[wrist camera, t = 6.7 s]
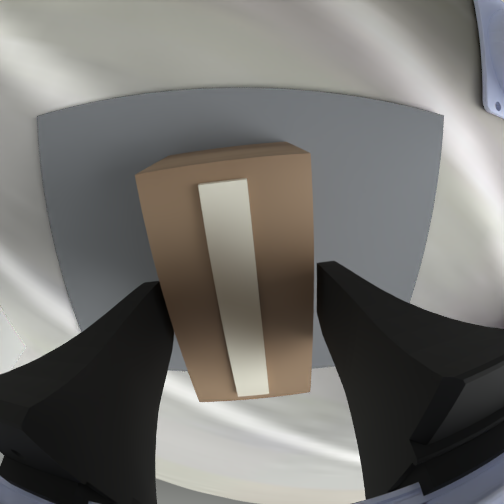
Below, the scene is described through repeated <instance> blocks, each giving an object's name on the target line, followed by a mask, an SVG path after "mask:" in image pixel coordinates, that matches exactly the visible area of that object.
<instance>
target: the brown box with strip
mask: <svg viewBox="0 0 504 504" xmlns="http://www.w3.org/2000/svg"><path fill="white" fill-rule="evenodd" d="M135 179H136V184H137V189H138V194H139V199H140V204H141V209H142V213H143V218H144V222H145V227H146V231H147V235H148V239H149V243H150V248H151V252H152V256H153V259H154V263H155V267H156V271H157V275H158V278H159V282H160V285H161V289H162V292H163V296H164V299H165V303H166V306H167V309H168V313H169V316H170V319H171V322H172V326H173V329H174V332H175V335H176V338H177V341H178V344H179V347H180V350H181V353H182V356H183V359H184V361H185V364H186V367H187V370H188V373H189V375H190V378H191V381H192V384H193V386H194V389H195V391H196V394H197V397H198V399H199V402H214V401H232V400H246V399H258V398H268V397H277V396H285V395H292V394H300V393H306V392H310V386H311V369H312V347H313V316H314V223H313V192H312V170H311V153H309V152H307V151H305V150H303V149H301V148H299V147H297V146H295V145H292V144H290V143H288V142H274V143H262V144H251V145H242V146H233V147H224V148H216V149H209V150H202V151H195V152H188V153H182V154H176V155H170V156H167V157H165V158H164V159H162V160H160V161H158V162H156V163H155V164H153V165H151V166H149V167H148V168H146V169H144V170H142V171H141V172H139V173H137V174H136V175H135Z"/></svg>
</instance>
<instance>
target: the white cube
mask: <svg viewBox="0 0 504 504" xmlns="http://www.w3.org/2000/svg"><path fill="white" fill-rule="evenodd" d="M25 348H26V345H25V344H24V342H23V341H22V339H21V338H20V336H19V335H18V333H17V332H16V330H15V329H14V327H13V326H12V324H11V322H10V321H9V319H8V318H7V316H6V314H5V313H4V311H3V309H2V308H1V306H0V374H2V373H6V372H8V371H11V370H12V368H13V367H14V365H15V363H16V362H17V360H18V359H19V357H20V356H21V354H22V353H23V351H24V350H25Z"/></svg>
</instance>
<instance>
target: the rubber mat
mask: <svg viewBox="0 0 504 504" xmlns="http://www.w3.org/2000/svg"><path fill="white" fill-rule="evenodd" d="M443 123H444V115H440V114H437V113H433V112H429V111H426V110H422V109H418V108H414V107H409V106H405V105H400V104H396V103H391V102H386V101H381V100H375V99H370V98H364V97H357V96H351V95H344V94H336V93H328V92H318V91H308V90H295V89H279V88H203V89H186V90H174V91H163V92H154V93H146V94H138V95H131V96H125V97H118V98H113V99H107V100H102V101H96V102H92V103H87V104H82V105H78V106H73V107H69V108H65V109H61V110H57V111H54V112H50V113H46V114H43V115H39V116H37V124H38V142H39V154H40V164H41V173H42V181H43V188H44V194H45V200H46V206H47V212H48V217H49V222H50V227H51V232H52V236H53V241H54V245H55V249H56V253H57V257H58V261H59V265H60V268H61V272H62V275H63V279H64V282H65V286H66V289H67V292H68V295H69V298H70V301H71V304H72V307H73V310H74V313H75V316H76V319H77V321H78V324H79V327H80V329H81V332H83V331H84V330H85V329H87V328H88V327H89V326H91V325H92V324H93V323H94V322H96V321H97V320H98V319H99V318H101V317H102V316H103V315H104V314H106V313H107V312H108V311H109V310H111V309H112V308H113V307H114V306H115V305H116V304H118V303H119V302H120V301H121V300H122V299H124V298H125V297H126V296H127V295H128V294H130V293H131V292H132V291H133V290H135V289H136V288H137V287H138V286H140V285H141V284H143V283H144V282H153V281H159V278H158V275H157V271H156V267H155V263H154V259H153V256H152V252H151V248H150V243H149V239H148V235H147V231H146V227H145V222H144V218H143V213H142V209H141V204H140V199H139V194H138V189H137V184H136V179H135V175H136V174H137V173H139V172H141V171H142V170H144V169H146V168H148V167H149V166H151V165H153V164H155V163H156V162H158V161H160V160H162V159H164V158H165V157H167V156H170V155H176V154H182V153H188V152H195V151H202V150H209V149H216V148H224V147H233V146H242V145H251V144H262V143H274V142H288V143H290V144H292V145H295V146H297V147H299V148H301V149H303V150H305V151H307V152H309V153H311V170H312V192H313V223H314V316H313V347H312V368H323V367H333V366H335V365H334V362H333V360H332V357H331V355H330V352H329V350H328V347H327V345H326V342H325V340H324V337H323V335H322V331H321V327H320V324H319V320H318V316H317V263H320V262H327V261H336V262H338V263H339V264H341V265H343V266H344V267H346V268H347V269H349V270H351V271H352V272H354V273H355V274H357V275H359V276H360V277H362V278H363V279H365V280H367V281H368V282H370V283H372V284H373V285H375V286H377V287H378V288H380V289H382V290H384V291H386V292H388V293H389V294H391V295H393V296H395V297H397V298H399V299H401V300H403V301H405V302H408V303H410V300H411V297H412V293H413V290H414V287H415V283H416V280H417V276H418V273H419V269H420V265H421V261H422V258H423V254H424V249H425V245H426V241H427V237H428V232H429V227H430V222H431V217H432V212H433V207H434V201H435V195H436V189H437V182H438V175H439V167H440V159H441V149H442V138H443ZM168 370H174V371H188V370H187V367H186V364H185V361H184V359H183V356H182V353H181V350H180V347H179V344H178V341H177V338H176V335H175V332H174V341H173V349H172V354H171V359H170V363H169V367H168Z"/></svg>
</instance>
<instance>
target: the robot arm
mask: <svg viewBox="0 0 504 504" xmlns="http://www.w3.org/2000/svg"><path fill="white" fill-rule="evenodd" d="M474 5H475V11H476V16H477V23H478V30H479V38H480V48H481V61H482V83H483V106H484V108H485V110H486V111H487V112H489V113H491V114H493V115H496V116H498V117H500V118H502V119H504V2H502V1H501V0H474ZM495 104H496V106H495ZM317 316H318V320H319V324H320V327H321V331H322V335H323V337H324V340H325V342H326V345H327V347H328V350H329V352H330V355H331V357H332V360H333V362H334V365H335V367H336V369H337V372H338V374H339V377H340V379H341V382H342V384H343V387H344V390H345V393H346V397H347V401H348V404H349V408H350V412H351V416H352V421H353V425H354V430H355V434H356V439H357V444H358V449H359V455H360V460H361V466H362V473H363V480H364V487H365V496H366V500H364V501H360V502H356V503H352V504H504V329H499V328H491V327H484V326H479V325H475V324H470V323H465V322H462V321H458V320H454V319H450V318H447V317H444V316H441V315H438V314H435V313H432V312H429V311H427V310H424V309H422V308H419V307H417V306H415V305H412V304H410V303H408V302H405V301H403V300H401V299H399V298H397V297H395V296H393V295H391V294H389V293H388V292H386V291H384V290H382V289H380V288H378V287H377V286H375V285H373V284H372V283H370V282H368V281H367V280H365V279H363V278H362V277H360V276H359V275H357V274H355V273H354V272H352V271H351V270H349V269H347V268H346V267H344V266H343V265H341V264H339V263H338V262H336V261H327V262H320V263H317ZM173 341H174V329H173V326H172V322H171V319H170V316H169V313H168V309H167V306H166V303H165V299H164V296H163V292H162V289H161V285H160V282H159V281H153V282H144V283H143V284H141V285H140V286H138V287H137V288H136V289H135V290H133V291H132V292H131V293H130V294H128V295H127V296H126V297H125V298H124V299H122V300H121V301H120V302H119V303H118V304H116V305H115V306H114V307H113V308H112V309H111V310H109V311H108V312H107V313H106V314H104V315H103V316H102V317H101V318H99V319H98V320H97V321H96V322H94V323H93V324H92V325H91V326H89V327H88V328H87V329H85V330H84V331H83V332H81V333H80V334H78V335H77V336H75V337H74V338H72V339H71V340H69V341H68V342H66V343H65V344H63V345H62V346H60V347H58V348H56V349H55V350H53V351H51V352H49V353H47V354H45V355H44V356H42V357H40V358H38V359H36V360H34V361H32V362H30V363H28V364H26V365H23V366H21V367H18V368H16V369H14V370H11V371H8V372H6V373H2V374H0V452H1V453H2V454H3V455H5V456H4V458H3V461H2V463H1V466H0V504H157V499H156V483H155V450H156V431H157V420H158V411H159V405H160V400H161V396H162V391H163V387H164V383H165V379H166V375H167V371H168V367H169V363H170V359H171V354H172V349H173Z"/></svg>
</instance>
